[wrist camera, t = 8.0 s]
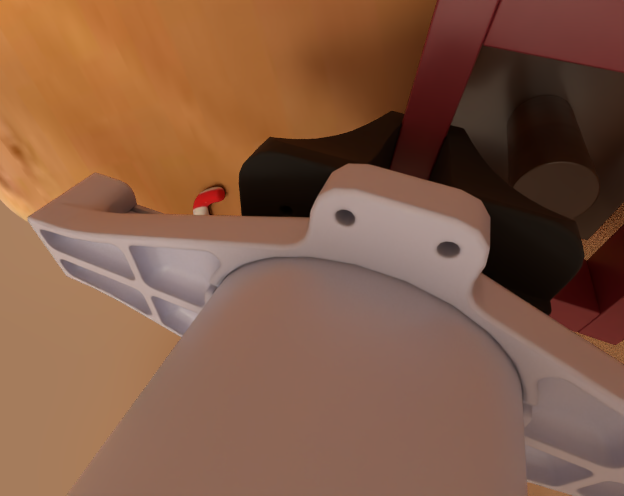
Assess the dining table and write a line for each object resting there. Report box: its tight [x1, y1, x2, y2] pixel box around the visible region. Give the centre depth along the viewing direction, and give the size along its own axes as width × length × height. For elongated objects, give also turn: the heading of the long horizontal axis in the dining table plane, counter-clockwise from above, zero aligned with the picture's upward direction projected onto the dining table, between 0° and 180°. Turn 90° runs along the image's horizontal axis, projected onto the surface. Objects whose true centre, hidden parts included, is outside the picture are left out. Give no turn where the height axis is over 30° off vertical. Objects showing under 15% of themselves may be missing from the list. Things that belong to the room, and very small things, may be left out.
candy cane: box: [193, 187, 225, 215], centre depth 26 cm, size 8×1×15 cm
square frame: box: [389, 0, 624, 345], centre depth 12 cm, size 10×10×3 cm
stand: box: [451, 45, 624, 240], centre depth 13 cm, size 10×10×7 cm
